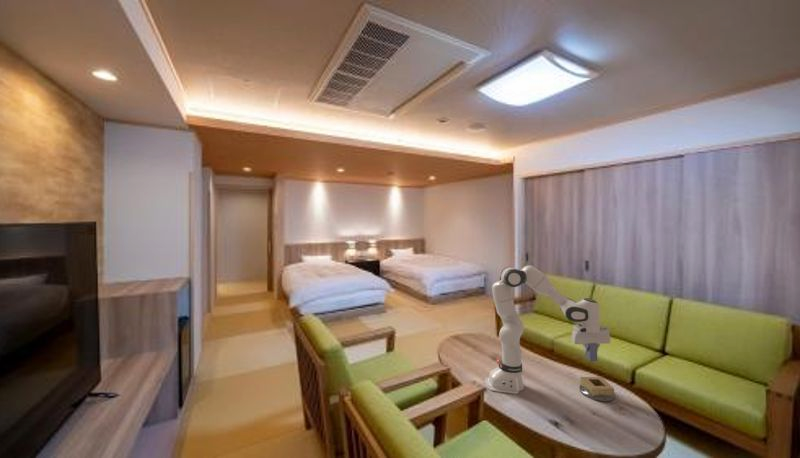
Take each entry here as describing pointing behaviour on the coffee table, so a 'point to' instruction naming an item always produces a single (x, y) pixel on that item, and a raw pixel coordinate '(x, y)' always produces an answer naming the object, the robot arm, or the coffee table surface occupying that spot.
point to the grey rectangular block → (591, 352)
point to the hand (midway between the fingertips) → (591, 350)
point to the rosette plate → (597, 389)
